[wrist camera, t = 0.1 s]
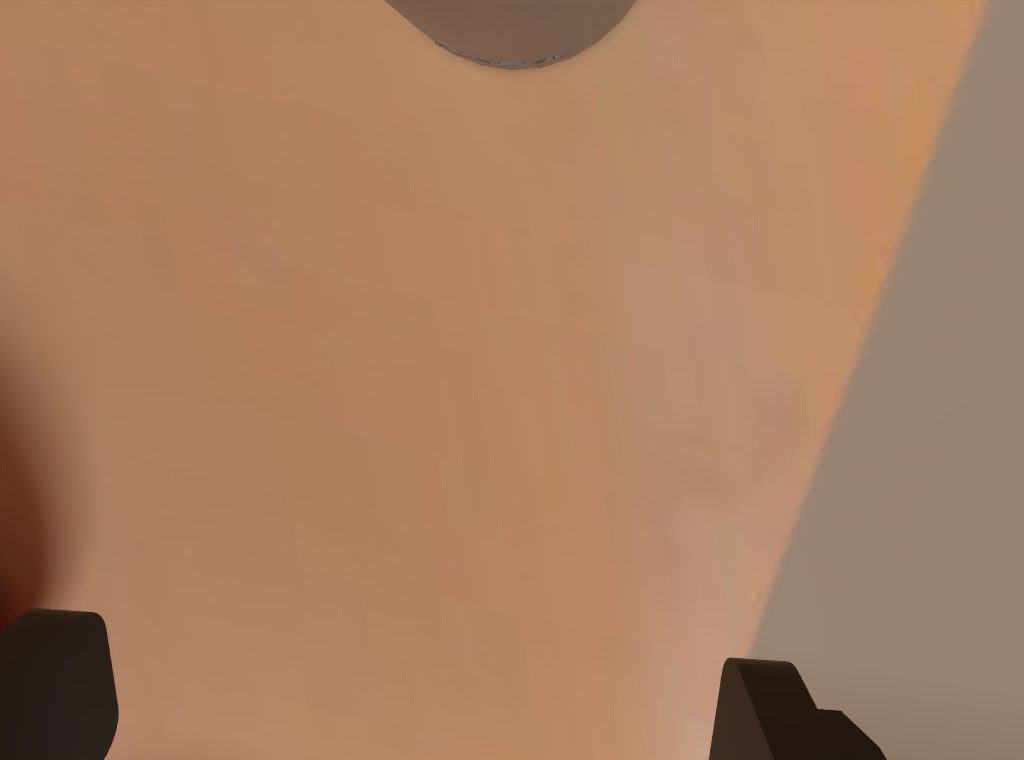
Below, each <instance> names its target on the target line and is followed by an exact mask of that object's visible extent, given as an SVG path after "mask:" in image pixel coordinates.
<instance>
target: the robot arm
mask: <svg viewBox="0 0 1024 760" xmlns="http://www.w3.org/2000/svg"><path fill="white" fill-rule="evenodd" d="M385 1H386V2H387V3H388V4H389V5H391V6H392V7H393V8H394V9H395V10H397V11H398V12H399V13H400V14H401V15H402V16H404V17H405V18H406V19H407V20H408V21H410V22H411V23H412V24H413V25H415V26H416V27H417V28H418V29H419V30H421V31H422V32H423V33H424V34H426V35H427V36H428V37H430V38H431V39H432V40H434V41H435V43H436V44H437V45H439V46H441V47H443V48H445V49H446V50H448V51H450V52H451V53H453V54H455V55H457V56H460V57H462V58H465V59H467V60H470V61H472V62H475V63H477V64H479V65H483V66H489V67H496V68H502V69H508V70H516V69H529V68H541V67H544V66H547V65H550V64H554V63H557V62H560V61H563V60H566V59H570V58H571V57H573V56H575V55H577V54H578V53H580V52H582V51H583V50H585V49H587V48H589V47H590V46H592V45H594V44H596V43H597V42H598V41H599V40H601V39H602V38H603V37H604V36H605V35H606V34H607V33H608V32H609V31H611V30H612V29H613V28H614V27H615V26H616V25H617V24H618V23H619V22H621V21H622V19H623V18H624V17H625V15H626V14H627V13H628V11H629V10H630V9H631V7H632V6H633V5H634V3H635V2H636V1H637V0H385ZM118 713H119V711H118V702H117V696H116V689H115V683H114V676H113V669H112V663H111V656H110V650H109V643H108V637H107V630H106V626H105V623H104V620H103V619H102V617H101V616H100V615H99V614H97V613H94V612H83V611H68V610H54V609H32V610H29V611H27V612H25V613H24V614H22V615H21V616H19V617H18V618H17V619H16V620H14V621H13V622H12V623H11V624H9V625H8V626H7V627H6V628H4V629H3V630H2V631H1V632H0V760H104V758H105V757H106V755H107V753H108V751H109V749H110V747H111V744H112V742H113V739H114V736H115V733H116V729H117V724H118ZM709 760H886V758H885V756H884V754H883V753H882V751H881V749H880V748H879V747H878V746H877V745H876V744H875V743H874V742H873V741H872V740H871V739H870V738H869V737H868V736H867V735H866V734H865V733H864V732H863V731H862V730H860V729H859V728H858V727H857V726H856V725H855V724H854V723H853V722H852V721H851V720H850V719H849V718H848V717H847V716H846V715H844V714H843V712H841V711H836V710H823V709H817V708H816V705H815V703H814V701H813V699H812V697H811V696H810V694H809V692H808V690H807V688H806V686H805V684H804V682H803V680H802V678H801V676H800V674H799V672H798V671H797V669H796V667H795V666H794V665H793V664H792V663H790V662H786V661H772V660H757V659H743V658H728V659H727V660H726V661H725V663H724V666H723V670H722V676H721V683H720V689H719V696H718V702H717V709H716V716H715V722H714V729H713V736H712V742H711V749H710V757H709Z"/></svg>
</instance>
